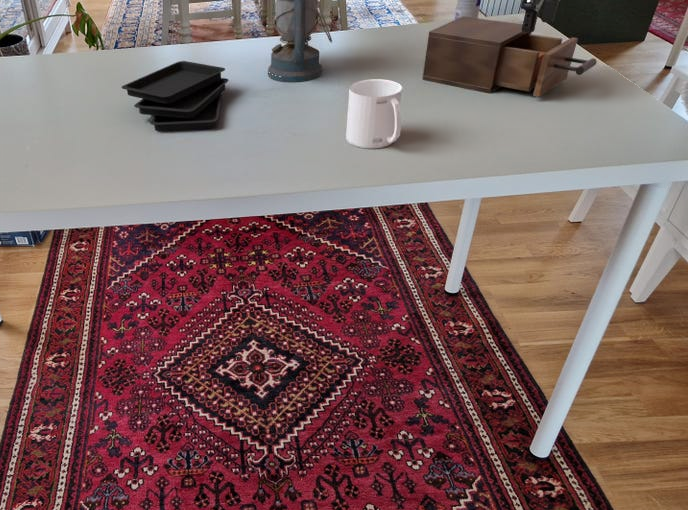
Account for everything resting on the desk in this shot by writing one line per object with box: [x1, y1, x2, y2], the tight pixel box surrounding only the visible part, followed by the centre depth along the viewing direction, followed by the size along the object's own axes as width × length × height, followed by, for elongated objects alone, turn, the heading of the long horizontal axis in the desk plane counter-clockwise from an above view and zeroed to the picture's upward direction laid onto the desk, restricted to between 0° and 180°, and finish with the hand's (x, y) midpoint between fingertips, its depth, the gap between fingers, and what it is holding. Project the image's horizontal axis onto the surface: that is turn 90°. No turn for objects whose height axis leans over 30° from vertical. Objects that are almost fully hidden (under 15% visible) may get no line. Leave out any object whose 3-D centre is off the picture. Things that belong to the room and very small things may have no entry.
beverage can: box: [453, 0, 482, 21], centre depth 160 cm, size 6×6×15 cm
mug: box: [345, 78, 403, 150], centre depth 115 cm, size 12×9×9 cm
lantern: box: [267, 0, 333, 83], centre depth 141 cm, size 19×14×30 cm
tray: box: [121, 60, 230, 132], centre depth 137 cm, size 30×23×5 cm
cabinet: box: [422, 16, 532, 94], centre depth 137 cm, size 16×14×10 cm
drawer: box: [494, 33, 598, 98], centre depth 130 cm, size 20×13×8 cm, turn 44°
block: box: [525, 49, 546, 81], centre depth 131 cm, size 4×4×4 cm
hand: (537, 27), depth 126 cm, fingers open, 8 cm apart
